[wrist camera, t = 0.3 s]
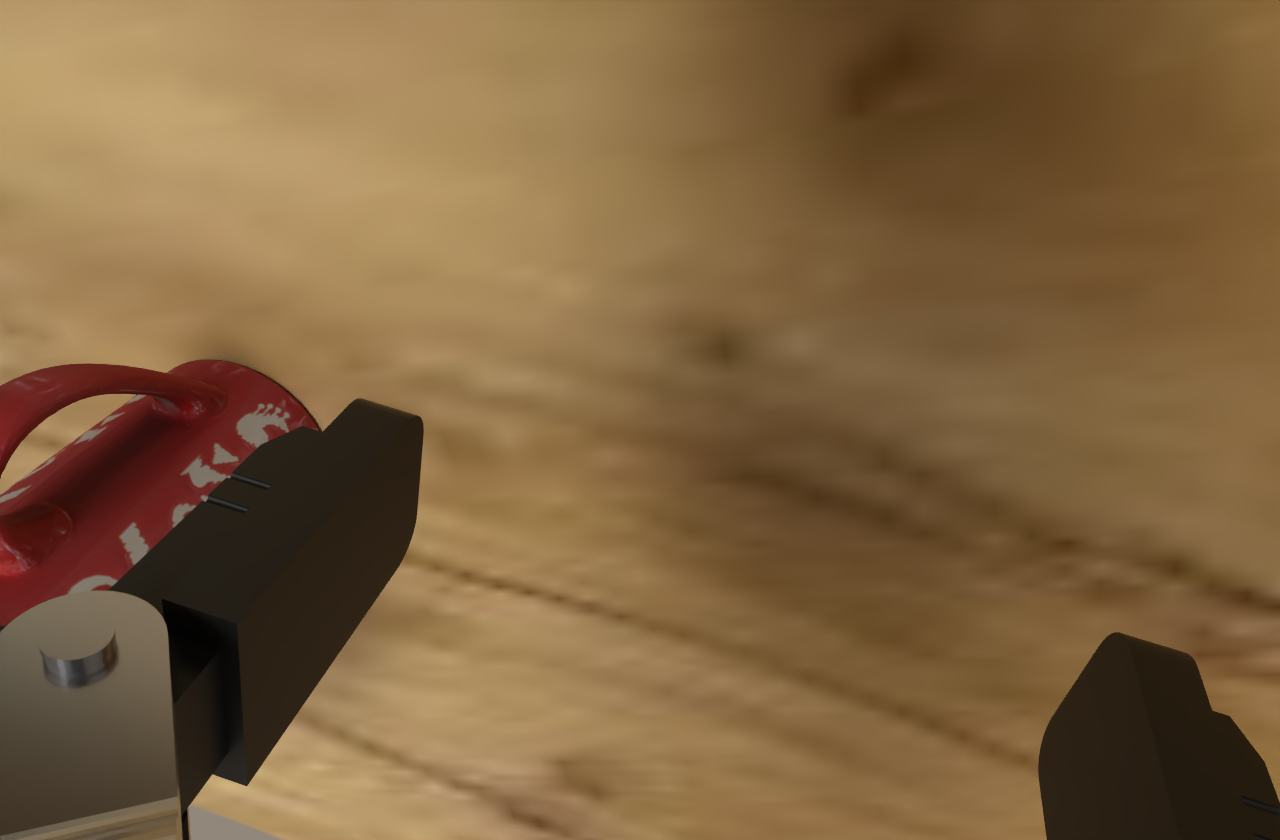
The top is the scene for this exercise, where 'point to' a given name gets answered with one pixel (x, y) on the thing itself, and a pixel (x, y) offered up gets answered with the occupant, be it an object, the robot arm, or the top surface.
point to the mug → (122, 468)
